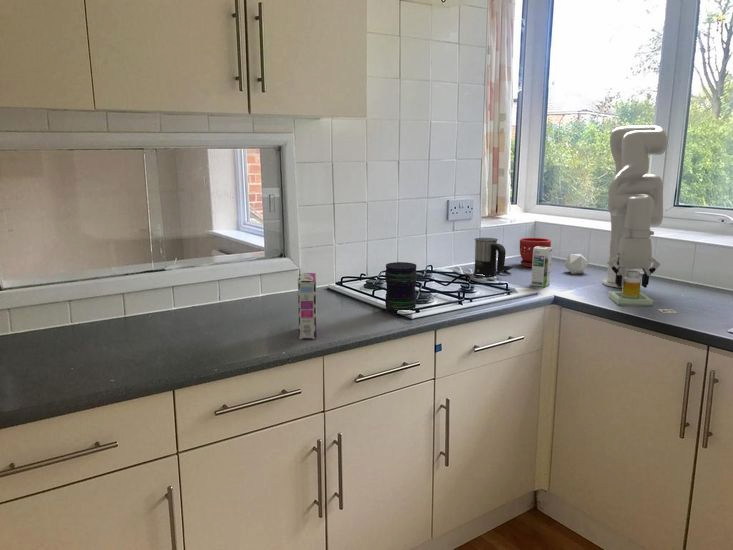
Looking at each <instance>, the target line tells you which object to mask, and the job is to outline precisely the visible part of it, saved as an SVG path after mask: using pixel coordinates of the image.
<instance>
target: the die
mask: <svg viewBox="0 0 733 550" xmlns="http://www.w3.org/2000/svg"><path fill="white" fill-rule="evenodd" d="M588 265H589V261H588V260H587V259H586V258H585V257H584V256H583V255H582V254H581V253H575V254H573V253H572V254H569V255H568V256H567V258H566V261H565V263H564V267H565V268H566V269H567V270H568V271H569V272H570V273H571V274H572V275H576V274H577V275H578V274H584V273H585V271H586V269H587V266H588Z"/></svg>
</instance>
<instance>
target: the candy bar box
mask: <svg viewBox="0 0 733 550" xmlns="http://www.w3.org/2000/svg"><path fill="white" fill-rule="evenodd" d="M297 289H298V290H297V291H298V292H297V293H298V295H297V296H298V297H297V298H298V340H301V341H302V340H307V341H308V340H309V341H310V340H317V330H318V329H317V328H318V327H317V326H318V323H317V322H318V319H317V317H318V316H317V315H318V310H317V309H318V308H317V306H318V305H317V303H318V302H317V301H318V300H317V276H316V272H302V273H301V272H300V273H298V279H297Z"/></svg>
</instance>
